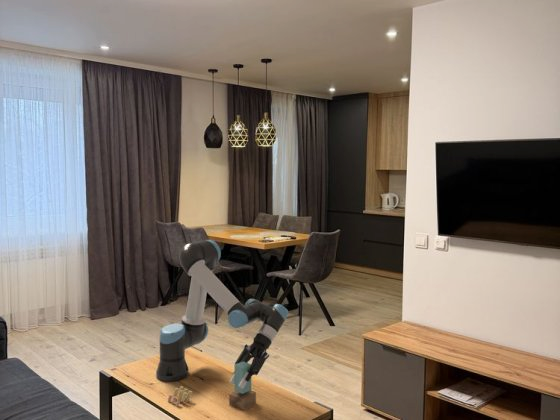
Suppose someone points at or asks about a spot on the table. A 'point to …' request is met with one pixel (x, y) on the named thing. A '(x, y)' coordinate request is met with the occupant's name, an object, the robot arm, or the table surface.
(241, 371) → the teal block
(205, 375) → the table surface
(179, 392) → the ammunition
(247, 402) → the walnut base
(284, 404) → the table surface
